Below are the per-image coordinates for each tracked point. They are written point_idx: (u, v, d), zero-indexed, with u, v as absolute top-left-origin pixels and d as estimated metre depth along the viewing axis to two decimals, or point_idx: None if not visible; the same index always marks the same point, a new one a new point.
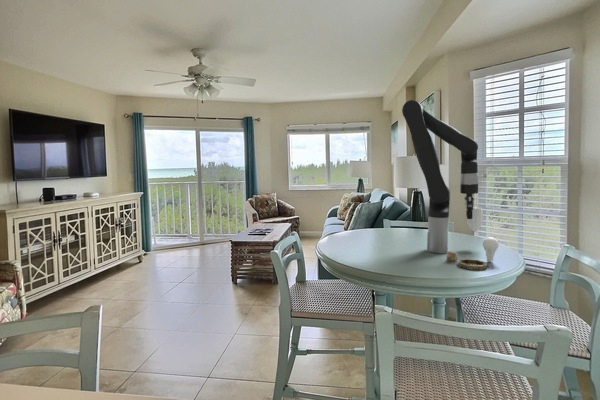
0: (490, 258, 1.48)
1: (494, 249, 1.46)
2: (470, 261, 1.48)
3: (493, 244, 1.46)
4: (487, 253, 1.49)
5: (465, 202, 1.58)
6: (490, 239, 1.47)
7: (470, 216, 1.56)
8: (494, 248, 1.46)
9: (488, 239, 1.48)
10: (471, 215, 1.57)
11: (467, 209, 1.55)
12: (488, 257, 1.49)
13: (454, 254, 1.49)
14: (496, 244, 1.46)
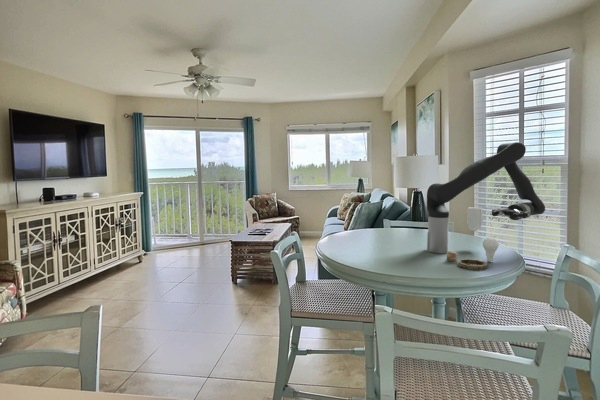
0: (490, 258, 1.48)
1: (494, 249, 1.46)
2: (470, 261, 1.48)
3: (493, 244, 1.46)
4: (487, 253, 1.49)
5: (518, 210, 1.56)
6: (490, 239, 1.47)
7: (517, 216, 1.51)
8: (494, 248, 1.46)
9: (488, 239, 1.48)
10: None
11: (525, 213, 1.51)
12: (488, 257, 1.49)
13: (454, 254, 1.49)
14: (496, 244, 1.46)
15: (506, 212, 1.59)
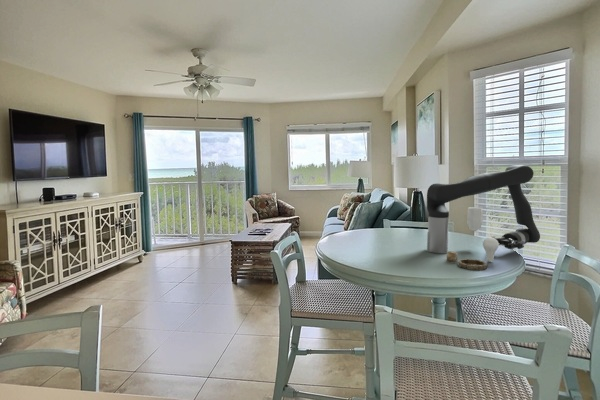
0: (490, 258, 1.48)
1: (494, 249, 1.46)
2: (470, 261, 1.48)
3: (493, 244, 1.46)
4: (487, 253, 1.49)
5: (513, 240, 1.55)
6: (490, 239, 1.47)
7: (512, 247, 1.50)
8: (494, 248, 1.46)
9: (488, 239, 1.48)
10: (510, 247, 1.51)
11: (519, 244, 1.51)
12: (488, 257, 1.49)
13: (454, 254, 1.49)
14: (496, 244, 1.46)
15: (501, 241, 1.58)
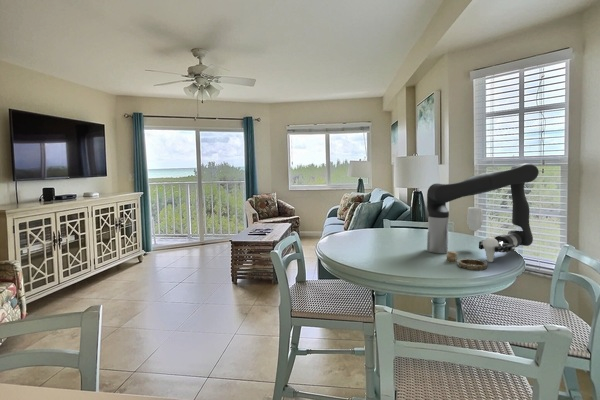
0: (490, 258, 1.48)
1: (494, 249, 1.46)
2: (470, 261, 1.48)
3: (493, 244, 1.46)
4: (487, 253, 1.49)
5: (502, 243, 1.50)
6: (490, 239, 1.47)
7: (499, 250, 1.45)
8: (494, 248, 1.46)
9: (488, 239, 1.48)
10: None
11: (507, 247, 1.45)
12: (488, 257, 1.49)
13: (454, 254, 1.49)
14: (496, 244, 1.46)
15: None
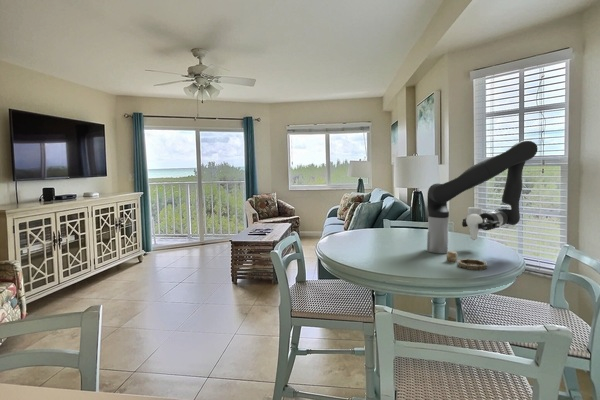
0: (474, 236, 1.41)
1: None
2: (470, 261, 1.48)
3: (477, 221, 1.39)
4: (471, 230, 1.42)
5: (487, 219, 1.43)
6: (473, 215, 1.40)
7: (483, 227, 1.38)
8: None
9: (471, 216, 1.41)
10: None
11: (491, 223, 1.38)
12: (472, 235, 1.42)
13: (454, 254, 1.49)
14: (480, 220, 1.39)
15: None
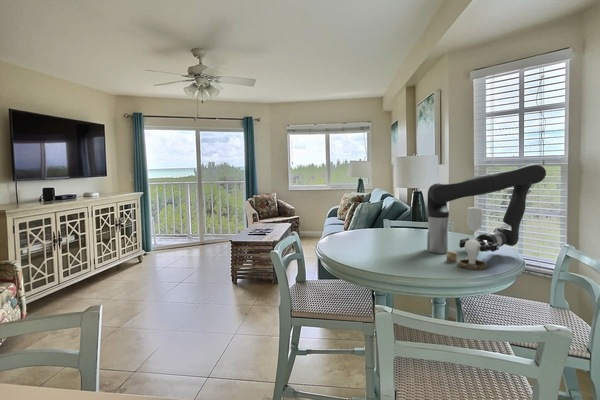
0: (472, 261, 1.42)
1: (476, 252, 1.41)
2: None
3: (475, 247, 1.40)
4: (469, 256, 1.43)
5: (487, 241, 1.43)
6: (472, 241, 1.41)
7: (485, 249, 1.38)
8: (476, 251, 1.40)
9: (470, 241, 1.42)
10: None
11: (493, 246, 1.39)
12: (470, 260, 1.43)
13: (454, 254, 1.49)
14: (478, 247, 1.40)
15: None
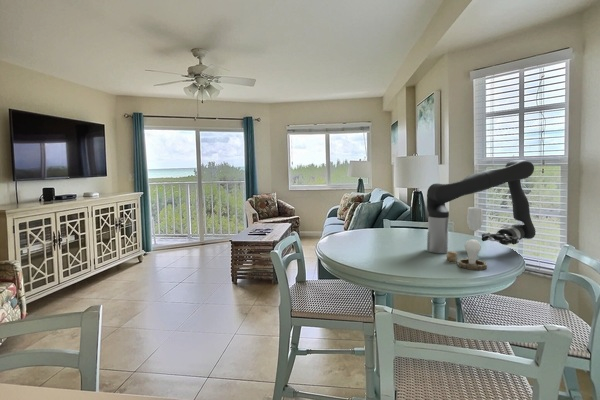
0: (472, 261, 1.42)
1: (476, 252, 1.41)
2: None
3: (476, 247, 1.40)
4: (469, 256, 1.43)
5: (508, 235, 1.55)
6: (472, 241, 1.41)
7: (506, 242, 1.50)
8: (476, 251, 1.40)
9: (470, 241, 1.42)
10: None
11: (514, 239, 1.51)
12: (470, 260, 1.43)
13: (454, 254, 1.49)
14: (478, 246, 1.40)
15: (496, 237, 1.58)
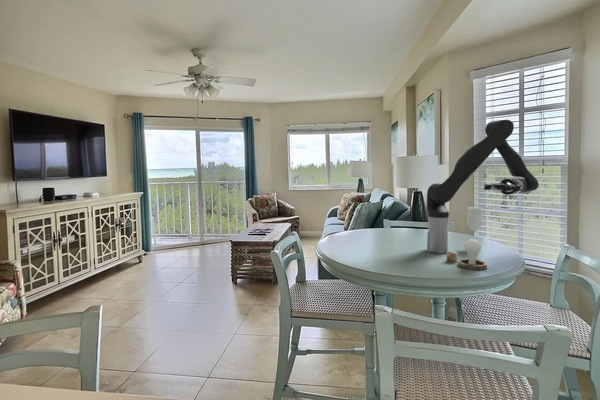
0: (472, 261, 1.42)
1: (476, 252, 1.41)
2: None
3: (476, 247, 1.40)
4: (469, 256, 1.43)
5: (510, 183, 1.53)
6: (472, 241, 1.41)
7: (509, 189, 1.48)
8: (476, 251, 1.40)
9: (470, 241, 1.42)
10: (508, 190, 1.49)
11: (517, 186, 1.48)
12: (470, 260, 1.43)
13: (454, 254, 1.49)
14: (478, 247, 1.40)
15: (498, 186, 1.56)
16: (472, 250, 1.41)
